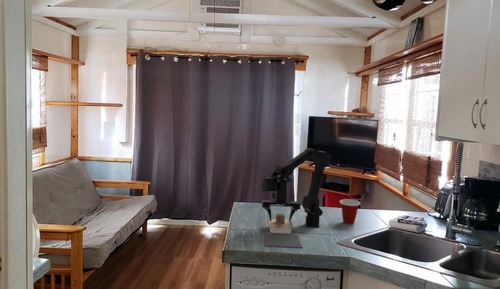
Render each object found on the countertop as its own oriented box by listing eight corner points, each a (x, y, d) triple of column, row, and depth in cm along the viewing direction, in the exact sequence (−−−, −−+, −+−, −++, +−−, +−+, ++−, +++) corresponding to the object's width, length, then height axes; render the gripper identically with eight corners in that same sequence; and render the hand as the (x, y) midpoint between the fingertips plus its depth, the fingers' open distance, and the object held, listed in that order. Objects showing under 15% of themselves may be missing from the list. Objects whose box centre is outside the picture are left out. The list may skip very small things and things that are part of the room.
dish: (288, 227, 188) (288, 221, 188) (290, 233, 178) (291, 227, 178) (269, 226, 188) (269, 220, 188) (270, 232, 178) (270, 226, 178)
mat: (297, 235, 175) (297, 234, 175) (302, 248, 159) (302, 247, 159) (264, 234, 175) (264, 233, 175) (265, 246, 159) (265, 245, 159)
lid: (290, 221, 189) (291, 212, 189) (293, 228, 177) (293, 218, 177) (267, 220, 189) (267, 211, 189) (268, 227, 177) (268, 217, 177)
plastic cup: (336, 224, 198) (338, 202, 197) (339, 219, 208) (341, 198, 207) (357, 227, 194) (359, 204, 193) (359, 221, 204) (361, 200, 203)
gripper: (298, 188, 190) (296, 217, 191) (262, 186, 190) (260, 216, 191) (301, 192, 179) (299, 224, 180) (263, 191, 179) (261, 222, 180)
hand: (280, 221), depth 183 cm, fingers open, 9 cm apart
